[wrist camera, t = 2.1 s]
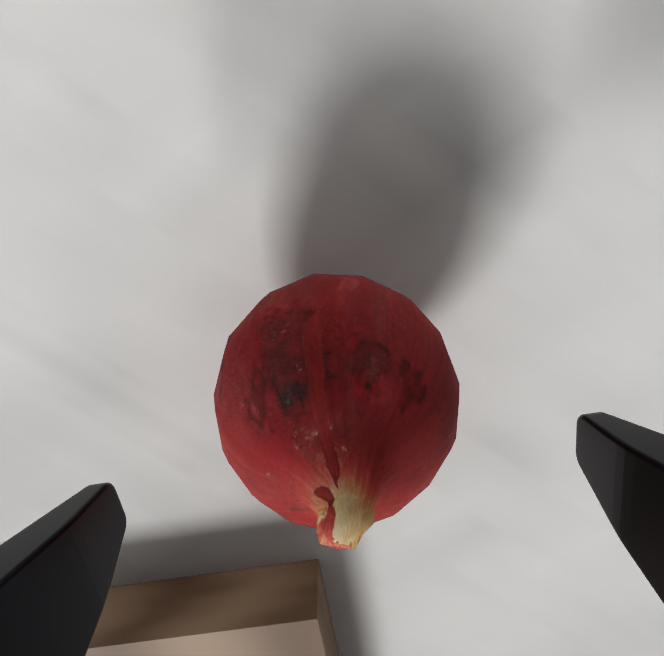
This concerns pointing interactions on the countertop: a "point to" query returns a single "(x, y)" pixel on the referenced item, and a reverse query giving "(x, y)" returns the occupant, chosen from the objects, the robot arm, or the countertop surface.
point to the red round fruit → (336, 404)
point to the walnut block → (220, 615)
